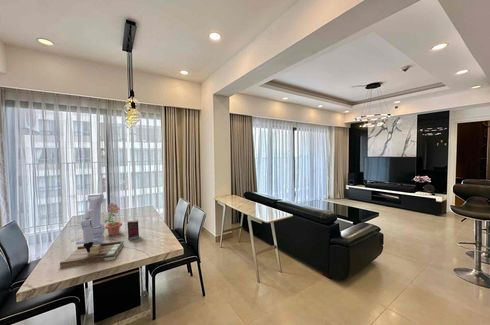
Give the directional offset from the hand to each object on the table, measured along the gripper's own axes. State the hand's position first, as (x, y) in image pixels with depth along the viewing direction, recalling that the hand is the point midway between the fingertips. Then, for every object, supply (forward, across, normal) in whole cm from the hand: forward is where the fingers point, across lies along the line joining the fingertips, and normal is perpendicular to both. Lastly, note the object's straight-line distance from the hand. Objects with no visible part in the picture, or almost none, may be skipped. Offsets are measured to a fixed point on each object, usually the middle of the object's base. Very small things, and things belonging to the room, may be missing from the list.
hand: (89, 252), depth 148 cm
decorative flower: (+3, +4, +41) cm, 41 cm away
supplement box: (+3, +25, +24) cm, 35 cm away
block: (+1, +4, 0) cm, 4 cm away
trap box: (+3, +4, 0) cm, 5 cm away
